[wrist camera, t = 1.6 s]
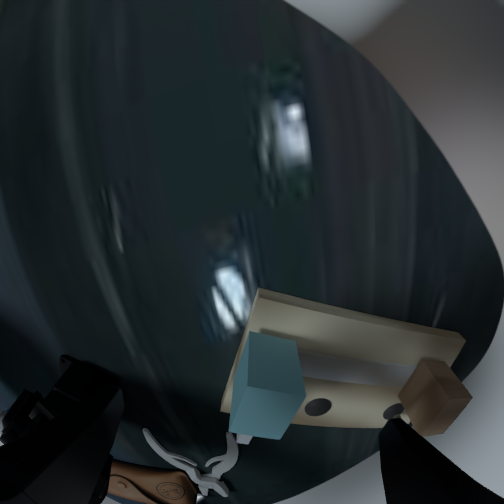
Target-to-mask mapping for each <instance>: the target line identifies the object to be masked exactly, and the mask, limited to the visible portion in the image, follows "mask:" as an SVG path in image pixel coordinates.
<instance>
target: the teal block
mask: <svg viewBox="0 0 504 504" xmlns="http://www.w3.org/2000/svg"><path fill="white" fill-rule="evenodd" d="M305 398H306V391H305V386H304V381H303V376H302V371H301V366H300V361H299V356H298V351H297V346H296V341H293V340H288V339H283V338H279V337H274V336H270V335H265V334H261V333H257V332H252V331H249V334H248V337H247V340H246V343H245V346H244V349H243V352H242V355H241V358H240V361H239V364H238V366H237V369H236V372H235V375H234V382H233V392H232V402H231V412H230V422H229V432H233V433H237V441H236V443H241V444H249V442H250V440H251V438H252V436H256V437H263V438H270V439H278V440H280V439H281V437H282V435H283V434H284V432H285V431H286V429H287V428H288V426H289V424H290V423H291V421H292V420H293V418H294V416H295V415H296V413H297V411H298V410H299V408H300V406H301V405H302V403H303V401H304V399H305Z"/></svg>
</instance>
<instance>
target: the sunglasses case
mask: <svg viewBox="0 0 504 504" xmlns="http://www.w3.org/2000/svg"><path fill="white" fill-rule="evenodd" d="M107 493H110V494H114V495H117V496H120V497H123V498H127V499H130V500H134V501H138V502H143V503H148V504H196V500H197V490H196V488H195V487H194V485H193V483H192V482H191V480H190V479H189V478H188V476H187V475H186V474H185V473H183V472H181V471H171V470H161V469H154V468H149V467H145V466H140V465H135V464H131V463H126V462H122V461H119V460H115V459H113V460H112V466H111V473H110V480H109V488H108V492H107Z"/></svg>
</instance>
